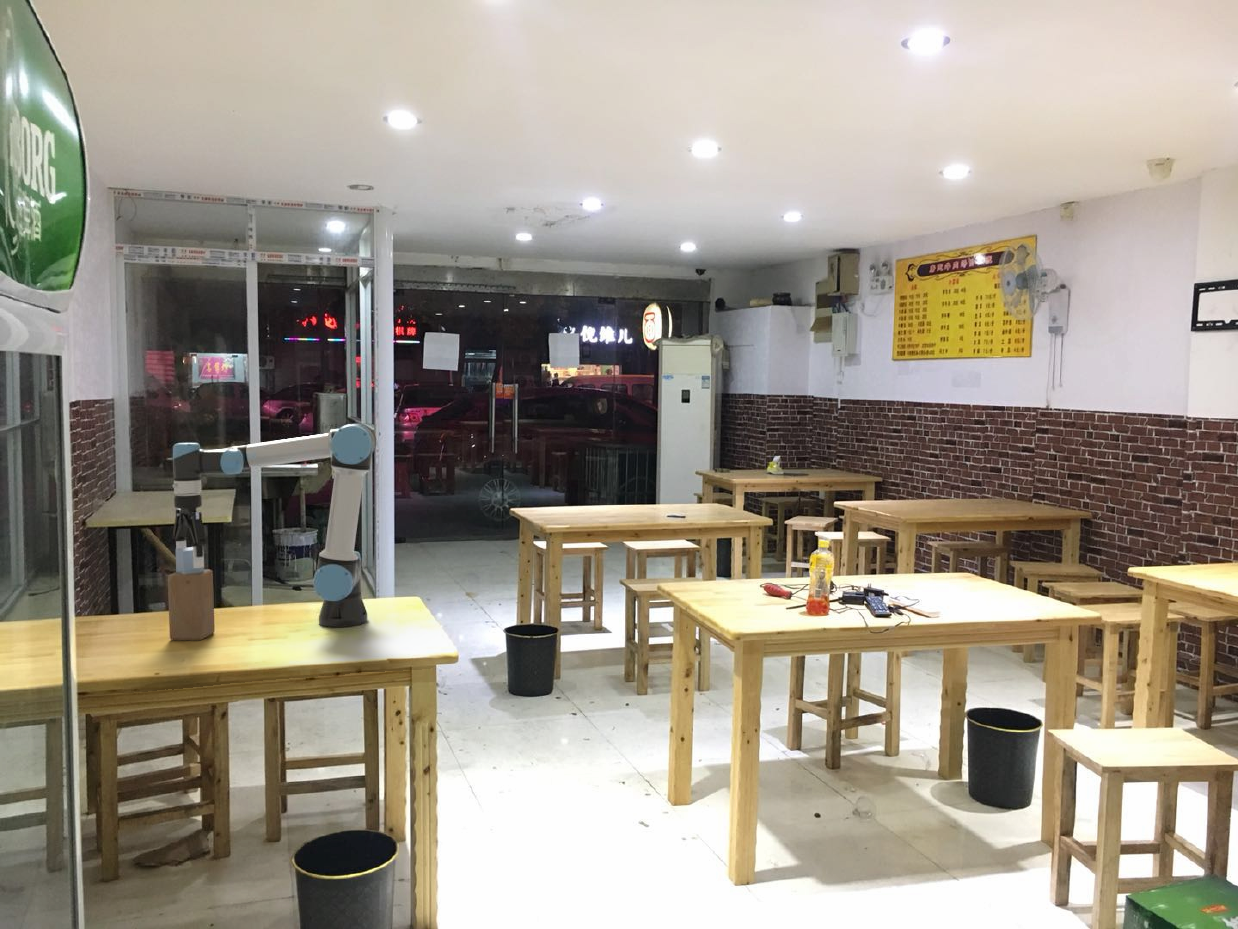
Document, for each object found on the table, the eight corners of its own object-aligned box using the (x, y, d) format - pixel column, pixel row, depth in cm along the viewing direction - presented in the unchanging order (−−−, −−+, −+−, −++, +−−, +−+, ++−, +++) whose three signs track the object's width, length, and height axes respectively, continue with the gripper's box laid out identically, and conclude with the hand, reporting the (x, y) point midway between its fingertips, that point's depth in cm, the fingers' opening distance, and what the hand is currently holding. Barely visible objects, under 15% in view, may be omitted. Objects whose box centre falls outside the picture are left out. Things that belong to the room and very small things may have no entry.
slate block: (196, 569, 298) (195, 546, 298) (204, 571, 294) (203, 549, 293) (176, 571, 294) (175, 548, 293) (183, 574, 290) (183, 551, 289)
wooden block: (201, 641, 290) (199, 575, 289) (168, 641, 291) (166, 574, 289) (216, 632, 300) (214, 568, 299) (183, 632, 301) (181, 568, 299)
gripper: (159, 492, 298) (162, 561, 300) (191, 498, 281) (193, 571, 283) (184, 490, 304) (187, 558, 305) (217, 496, 286) (219, 568, 288)
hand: (190, 565), depth 294 cm, fingers open, 12 cm apart
